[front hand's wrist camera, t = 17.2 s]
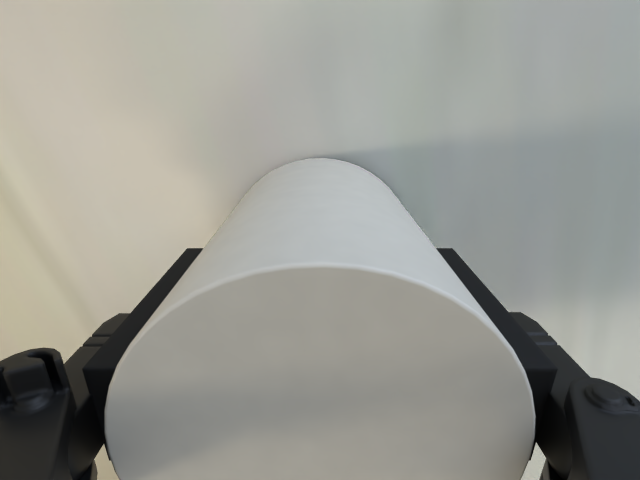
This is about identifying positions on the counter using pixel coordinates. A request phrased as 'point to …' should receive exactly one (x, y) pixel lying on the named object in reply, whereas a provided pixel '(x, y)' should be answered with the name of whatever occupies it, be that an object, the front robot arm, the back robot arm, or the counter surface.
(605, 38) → the counter surface
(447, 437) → the canister
